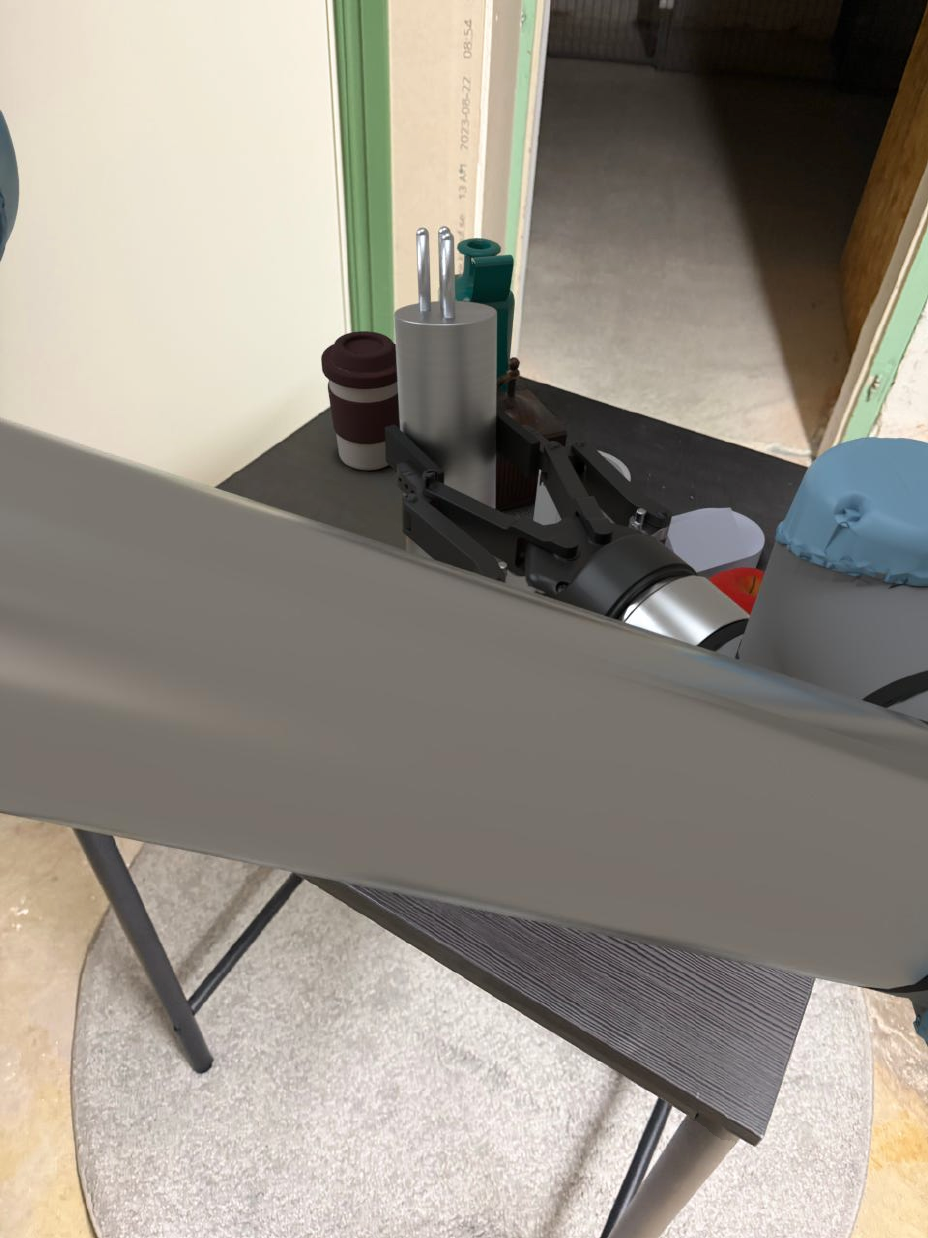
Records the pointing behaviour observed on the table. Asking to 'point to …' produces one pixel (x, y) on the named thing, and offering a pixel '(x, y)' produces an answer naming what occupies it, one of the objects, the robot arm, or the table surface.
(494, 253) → the teal bottle
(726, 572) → the apple
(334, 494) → the table surface
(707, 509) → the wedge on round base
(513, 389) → the manual coffee grinder
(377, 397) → the coffee cup
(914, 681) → the robot arm
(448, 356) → the cylinder
